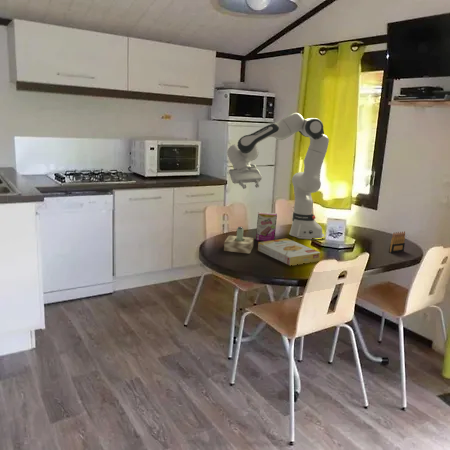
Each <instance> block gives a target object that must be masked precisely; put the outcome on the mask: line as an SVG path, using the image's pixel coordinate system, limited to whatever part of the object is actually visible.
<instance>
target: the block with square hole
mask: <svg viewBox="0 0 450 450" xmlns="http://www.w3.org/2000/svg"><path fill="white" fill-rule="evenodd" d="M236 238H237V235H228V236H227V238H225V240H224V242H223V243H224V244H223V251H224V252H232V253H233V252H234V253H239V254H240V253H242V254H251V252H252V250H253V249H254V244H255V241H254V240H255V238H254V237H249V236H243V241H236Z"/></svg>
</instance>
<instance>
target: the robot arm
mask: <svg viewBox="0 0 450 450" xmlns="http://www.w3.org/2000/svg"><path fill="white" fill-rule="evenodd" d="M298 132H299V133H300V134H301V136H303V137H305V138H309V146H308V147H307V148H308V149H307V151H306V154H305V156H304V159H303V164H304V165H303V171H299V172H296V173H295V174H293V176H292V178H291V183H292V186H293V193H294V207H293V212H292V224H291V227H290V231H289V233H288V234H289V235H290V236H292V237H296V238H297V239H300V240H301V239H302V240H305V239H306V240H313V239H312V238H322V237H324V233H323V227H322V226H321V225H320V224H319V223H318V221H316V220H315V219H316V216H315V214H314V213H313V205H314V200H313V197H312V193H313V194H314V193H316V192H318V191H319V190H320V189H321V186H322V182H321V171H322V165H323V163H324V161H325V158H326V154H327V151H328V147H329V142H330V139H329V137H328V136H327V135H326V134H325V131H324V124H323V122H322V121H321V120H320V119H319V118H318V117H317V118H316V117H310V118H306V119H305V118H304V117H303V115H301V114H300V113H298V112H294V113H292V114H289V115H287V116H285V117H284V118H281V119H280V120H279V121H276V122H274V123H270V124H268V125H266V126H264V127H262V128H260V129H259V130H256V131H254V132H251V133H249V134H247V135H246V134H245V135H243V136H241V137H240V138H239V140H238V142H237V144H232V145H230V146H229V147H228V148H227V152H226V154H227V157H228V160H229V162H230V163H231V164H232V168H230V169H229V170H228V174H229V177H230V179H231V182H232V183H233V184H234V185H236V184H239V186H240V187H241V188H242V189H243V190H244V189H247V186H246V184H247V183H254V184H255V185H254V187H255V188H256V189H257V188H260V184H259V182H261V181H262V178H263V175H262V174H261V172H260V170H259V169H258V168H257V165H256V164H255V163H251V162H252V161H255V160H256V159H257V158H258V157H259V153H260V152H259V149H258V147H257V144H258V143H260V142H262V141H264V140H265V139H267V138H275V139H276V140H279V141H284V140H287V139H289V138H290V137H291V136H293V135H294V134H296V133H298Z"/></svg>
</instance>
